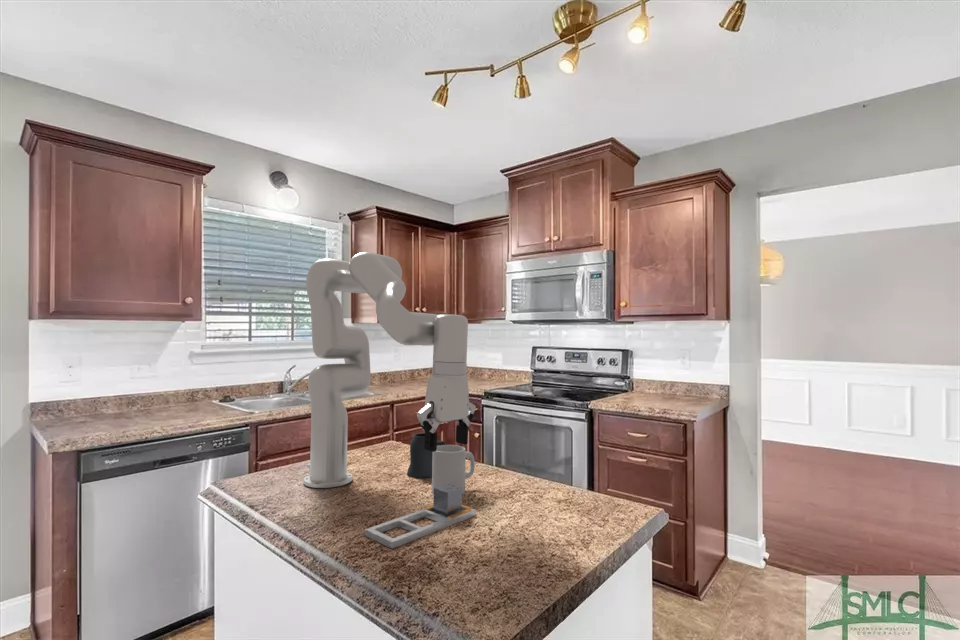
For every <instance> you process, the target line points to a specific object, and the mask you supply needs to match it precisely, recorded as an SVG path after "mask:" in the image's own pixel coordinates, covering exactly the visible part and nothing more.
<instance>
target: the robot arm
mask: <svg viewBox="0 0 960 640" xmlns="http://www.w3.org/2000/svg"><path fill="white" fill-rule="evenodd" d="M402 277H403V268H402V266H401V264H400V263H399V261H397V259H396V258H394V257H392V256H388V255H384V254H379V253H374V252H369V251H367V252H366V251H364V252H363V251H362V252H359V253H357V254H354V256H352V258H350V260H349V261H346V260H341V259H336V258H322V259H318V260H316V261H315V262H313V263H312V264H311V266H310V267H309V268H308V272H307V274H306V278H305V286H306V288H305V290H306V294H307V299H308V303H309V307H310V318H311V320H310V322H311V342H312V350H313V353H314V355H315V356H316V357H317V358H320V359H324V360H327V359H328V360H338V359H339V360H340V359H343V360H344V363H326V364H322V365H321V364H320V365H318V366H316V367H315V368H313V369H312V370H311V371H310V373H309V375H308V378H307V386H308V392H309V398H310V399H309V400H310V450H309V451H310V453H309V454H310V457H309V463H307V465H306V469H307V470H309V475H306V476H305V477H303V481H302V483H303V485H304V486H305V487H308V488H314V489H315V488H316V489H330V488H336V487H342V486H344V485H348V484H349V483H351V482H353V481H352V480H353V475H352V473H350V472H348V471H347V470H348V469H347V468H348V465H347V464H348V434H349V432H348V431H349V429H348V427H349V422H348V421H349V417H348V412H347V408H346V406H345V404H344V402H343V401H342V399H344V398H353V397H360V396H362V395H364V394H365V393H367V392H368V391H369V389H370V385H371V380H372V379H371V377H372V376H371V375H372V374H371V372H372V371H371V357H370V356H371V355H370V354H371V353H370V343H369V338H368V336H367V334H366V332H365V330H364V329H363V328H361V327H360V326H358V325H348V324H347V325H346V324H345V321H344V310H343V305H342V304H341V302H340V300H339V297H338V296H337V295H336V294H335V292H343V293H352V294H367V295H368V296H369V297H370V298H371V300H372V301H374V303H375V314H376V319H377V320H378V323H379V325H380V326H381V327H382V329H383V330H384V331H385V332H386V333H387V334H388V335H389V337H391V338H392V339H393V340H394V341H396V342H397V343H399V344H400V345H403V346H423V347H424V346H426V347H427V346H433V347H432V348H433V349H432V350H433V351H432V352H433V354H432V371H431V372H432V373H431V374H432V375H429V376H428V381H427V385H426V392H425V396H424V397H425V398H424V406H423V407H422V408H421V409H420V410H419V411H417V412H416V416H417V417H416V418H417V419H418V421H419V426H420V427H421V428H422V432H424V433H425V446H424V448H425V449H426V450H429V451H433V452H435V451H436V450H437V441H438V432H436V430H437V429H438V427H439V426H440V424H444V423H450V422H455V421H456V422H457V424H456V426H455V428H456V429H455V430H456V431H455V442H456V443H458V444H460V445H468V443H469V442H468V440H469V437H468V436H469V427H471V421H472V419H474V413H475V411H476V408H477V407H476V405H475V404H473V403H472V402H471V401H470V393H469V392H470V391H469V382H468V375H467V369H468V363H467V356H468V355H467V354H468V335H469V334H468V331H469V320H468V318H467V317H466V315H463V314H453V313H452V314H446V313H444V314H443V313H442V314H437V313H426V312H416V311H415V312H413V311H409V310H408V309H407V308H406V307H405V306H404V305H402V303H401V301H402V300H403V299H404V297H405V295H406V291H407V286H406V283H405V282H404V281H403V280H402Z"/></svg>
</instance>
